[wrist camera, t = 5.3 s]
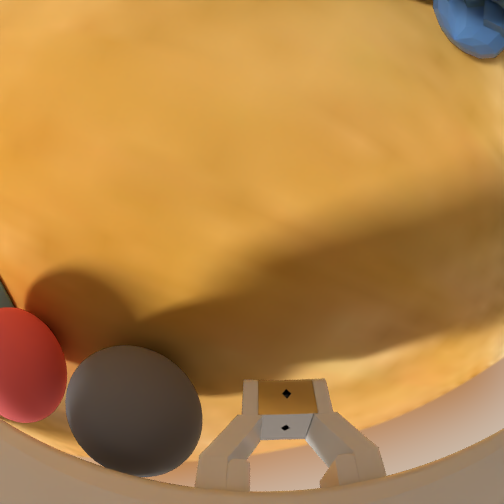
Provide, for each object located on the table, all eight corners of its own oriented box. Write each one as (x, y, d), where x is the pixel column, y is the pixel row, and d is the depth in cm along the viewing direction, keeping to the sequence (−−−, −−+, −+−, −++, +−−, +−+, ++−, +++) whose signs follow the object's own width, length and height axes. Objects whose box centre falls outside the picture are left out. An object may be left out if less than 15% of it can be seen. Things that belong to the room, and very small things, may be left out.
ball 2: (214, 391, 7) (139, 296, 11) (58, 474, 4) (30, 353, 8) (240, 448, 10) (176, 373, 14) (139, 507, 7) (93, 419, 11)
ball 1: (13, 276, 11) (-60, 323, 6) (65, 305, 9) (-34, 381, 4) (45, 355, 13) (-12, 404, 8) (102, 395, 11) (38, 464, 7)
